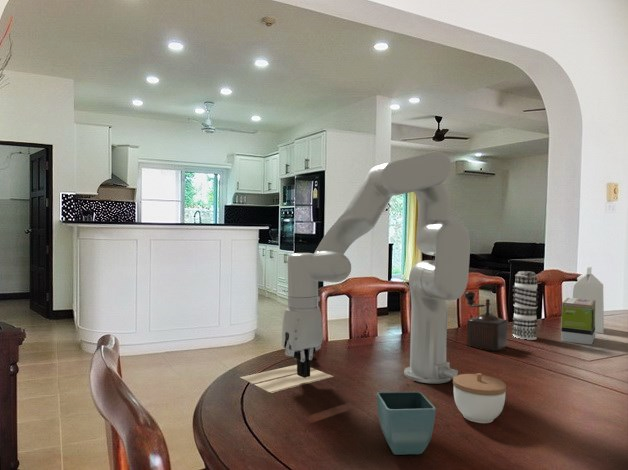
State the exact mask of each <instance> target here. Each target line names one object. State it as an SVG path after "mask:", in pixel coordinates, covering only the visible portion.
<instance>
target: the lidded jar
mask: <svg viewBox="0 0 628 470" xmlns="http://www.w3.org/2000/svg"><path fill="white" fill-rule="evenodd" d="M452 384H453V389H452V390H453V399H454V403H455V405H456V408H457V409H458V410H459V412H460V413H461V414H462V415H463V417H464V418H465V420H467V421H470V422H474V423H477V424H491V423H492V422H493V421H494V420H495V419H497V418H498V417H499V415H500V414H501V413H502V412H503V410H504V406H505V402H506V401H505V400H506V392H507V385H506V383H505V382H504V381H502V380H501V379H499V378H496V377H492V376H491V375H485V374H483V373H481V372H480V373H479V372H478V373H464V374H457V376H455V377H454V378H453V379H452Z"/></svg>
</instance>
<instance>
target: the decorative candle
mask: <svg viewBox="0 0 628 470" xmlns="http://www.w3.org/2000/svg"><path fill="white" fill-rule="evenodd" d="M514 276H515V281H514V285H512V288H513V289H512V292H513V294H512V297H513V298H512V301H513V302H514V303H512V305H513V306H514V308H513V309H514V313H513V317H512V320H513V321H512V324H513V326H512V330H511V332H512V335H513V336H514V337H513V336H512V337H513V338H515V337H516V338H515V339H518V338H520V339H519V340H524V339H527V340H526V341H534V340H537V336H538V333H537V332H538V329H537V327H538V324H537V323H538V320H537V308H538V307H539V305H538V303H539V301H538V300H537V299H539V297H540V296H539V294H540V291H538V290H537V289H538V278H539V276H538V275H537V274H536V273H535V272H534V271H527V270H526V271H525V270H522V271H521V270H520V271H518V272H517V273H516V274H515V275H514Z"/></svg>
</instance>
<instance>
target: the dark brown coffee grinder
mask: <svg viewBox="0 0 628 470" xmlns="http://www.w3.org/2000/svg"><path fill="white" fill-rule="evenodd" d="M463 296H464V299H466V301H467V303H466V304H467V305H468V306H469V307H470V308H483V307H486V308H485V309H486V312H485V313H482V314H479V315H477V316H474V317H472V318H469V319H467V330H466V331H467V335H466V336H467V340H466V345H468V346H467V347H469V346H472V347H471V348H474V347H477V348H476V349H479V348H482V349H481V350H484V349H487V350H486V351H490V350H492V351H491V352H498V350H499V351H501V350H503V349H505V348H507V338H508V337H507V336H508V319H504V318H500V317H497V316H496V315H494V314H493V312H490V305H491V304H490V302H491V300H490V299H489V298H487V299H485V303H484V304H483V303H482V304H480V303H479V304H475V303H476V302H475V300H474V299H475V297H476V293H475V292H474V291H467V292H464V295H463Z"/></svg>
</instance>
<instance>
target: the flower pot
mask: <svg viewBox="0 0 628 470" xmlns="http://www.w3.org/2000/svg"><path fill="white" fill-rule="evenodd" d="M376 400H377V401H376V404H377V413H378V421H379V425H380V428H381V432H382V434H383V437H384V438H385V441H386V443H387V444H388V446H389V448H390V449H391V450H390V451H391V452H392V454H393V455H401V456H402V455H421V454H423V452H425V450H426V449H427V447H428V445H429V444H430V442H431V439H432V435H433V430H434V424H435V417H436V411H437V409H436V407H435V406H434V404H433V403H432V402H431V401H430V400H429V399H428V398H427V396H425V395H424V393H422V392H421V391H377V392H376Z"/></svg>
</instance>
